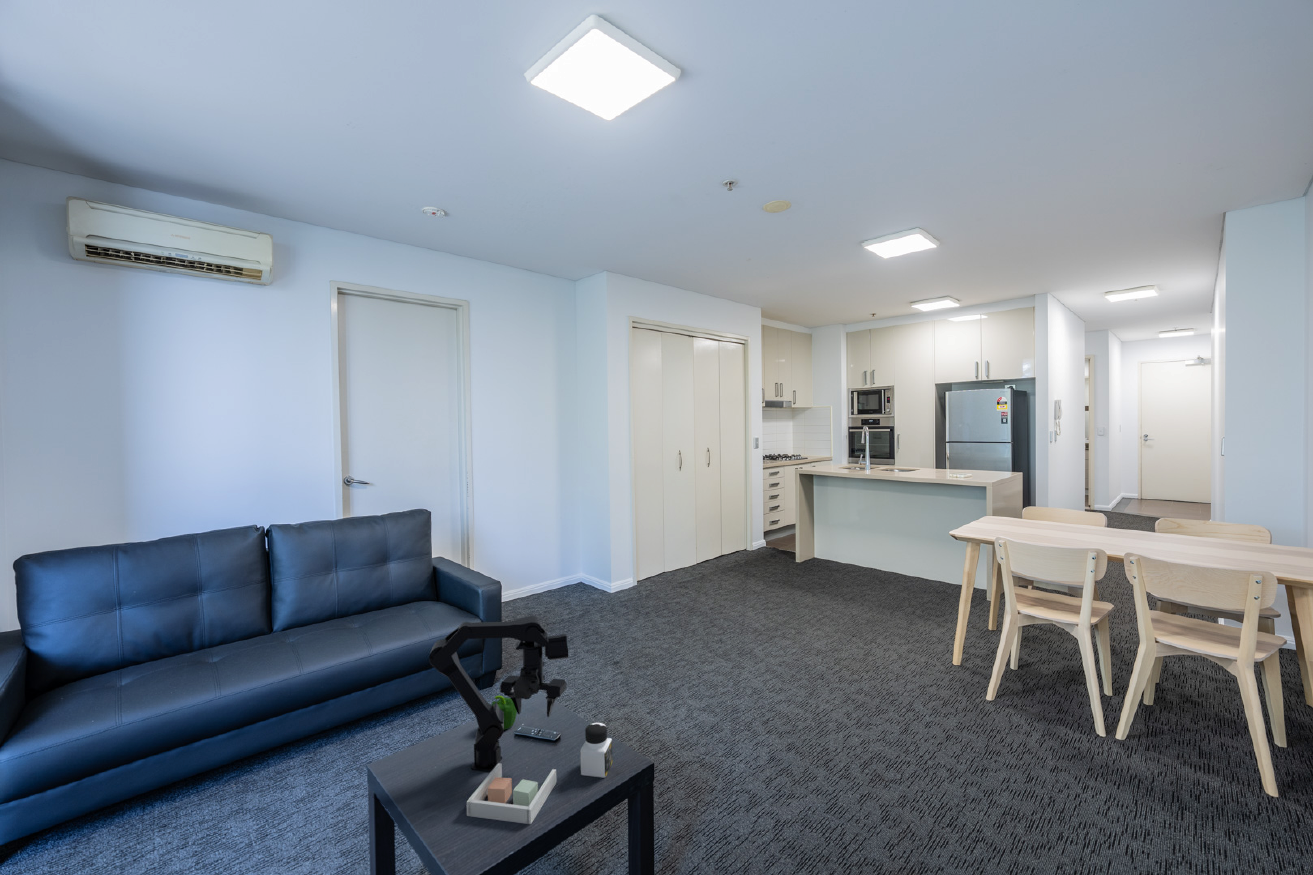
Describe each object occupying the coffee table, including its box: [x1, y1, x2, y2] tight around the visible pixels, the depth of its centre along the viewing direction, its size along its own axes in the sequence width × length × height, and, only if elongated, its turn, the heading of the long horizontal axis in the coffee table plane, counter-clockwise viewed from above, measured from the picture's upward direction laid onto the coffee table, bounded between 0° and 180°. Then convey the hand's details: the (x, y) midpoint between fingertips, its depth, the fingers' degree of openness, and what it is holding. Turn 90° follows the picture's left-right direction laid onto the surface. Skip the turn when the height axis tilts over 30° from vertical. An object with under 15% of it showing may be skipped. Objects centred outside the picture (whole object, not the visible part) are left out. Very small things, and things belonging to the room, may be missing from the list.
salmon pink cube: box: [487, 777, 513, 804], centre depth 140 cm, size 4×4×4 cm
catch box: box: [466, 762, 557, 825], centre depth 140 cm, size 17×16×4 cm
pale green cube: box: [512, 779, 539, 806], centre depth 139 cm, size 4×4×4 cm
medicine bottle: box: [579, 722, 613, 779], centre depth 151 cm, size 7×7×12 cm
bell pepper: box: [491, 695, 518, 730], centre depth 176 cm, size 8×8×10 cm
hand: (533, 715), depth 158 cm, fingers open, 9 cm apart
